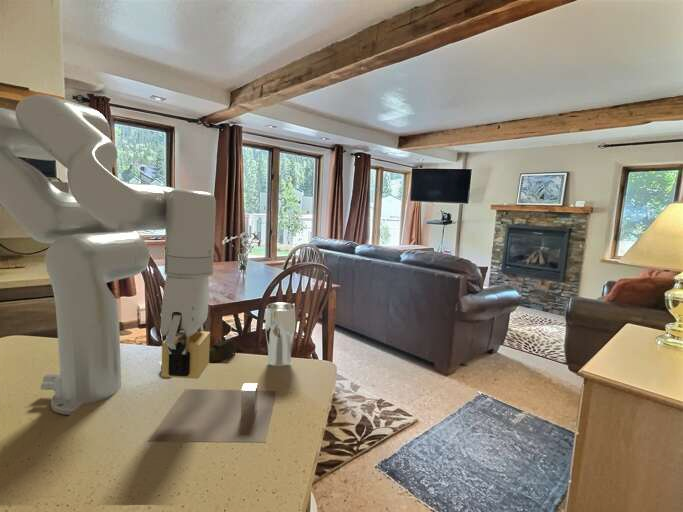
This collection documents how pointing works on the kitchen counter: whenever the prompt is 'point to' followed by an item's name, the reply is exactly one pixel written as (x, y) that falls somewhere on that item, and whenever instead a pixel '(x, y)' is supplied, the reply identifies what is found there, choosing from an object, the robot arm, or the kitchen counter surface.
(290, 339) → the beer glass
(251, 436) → the post board
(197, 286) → the robot arm
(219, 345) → the hand tool
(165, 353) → the collar
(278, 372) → the kitchen counter surface
